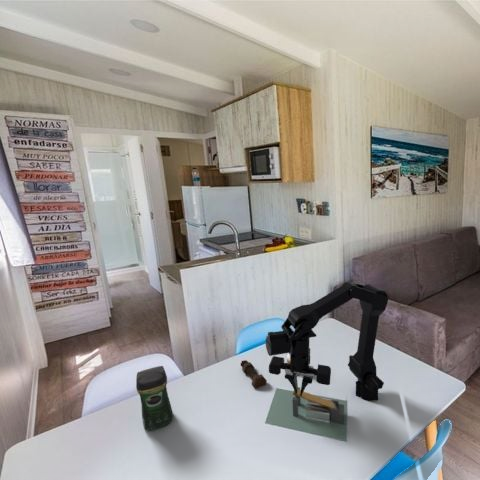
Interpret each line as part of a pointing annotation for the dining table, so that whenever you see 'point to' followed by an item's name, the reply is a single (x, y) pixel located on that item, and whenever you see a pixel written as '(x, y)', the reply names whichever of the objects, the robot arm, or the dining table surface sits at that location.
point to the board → (303, 417)
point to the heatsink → (317, 413)
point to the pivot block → (337, 413)
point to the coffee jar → (154, 398)
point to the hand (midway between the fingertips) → (299, 392)
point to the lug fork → (296, 404)
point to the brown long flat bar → (316, 399)
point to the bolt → (253, 374)
